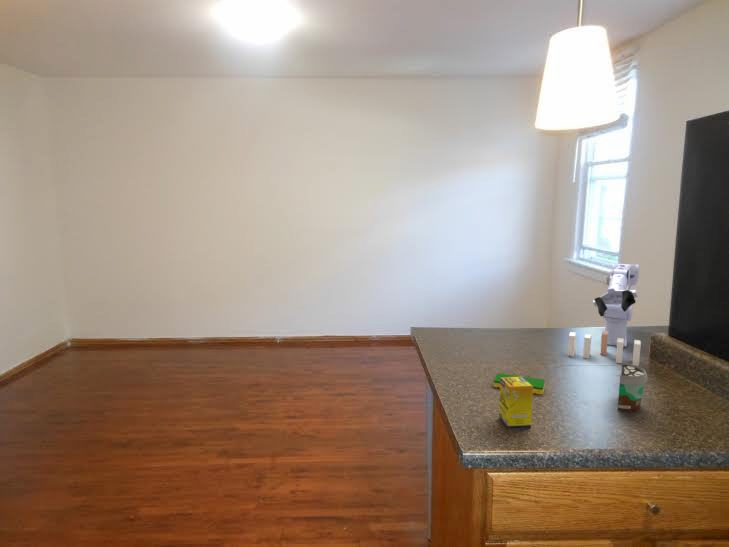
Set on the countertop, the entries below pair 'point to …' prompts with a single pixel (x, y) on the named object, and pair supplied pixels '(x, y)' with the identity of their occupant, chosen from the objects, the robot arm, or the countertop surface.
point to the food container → (631, 387)
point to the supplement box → (515, 402)
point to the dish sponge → (536, 383)
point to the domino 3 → (604, 342)
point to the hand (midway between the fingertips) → (611, 311)
